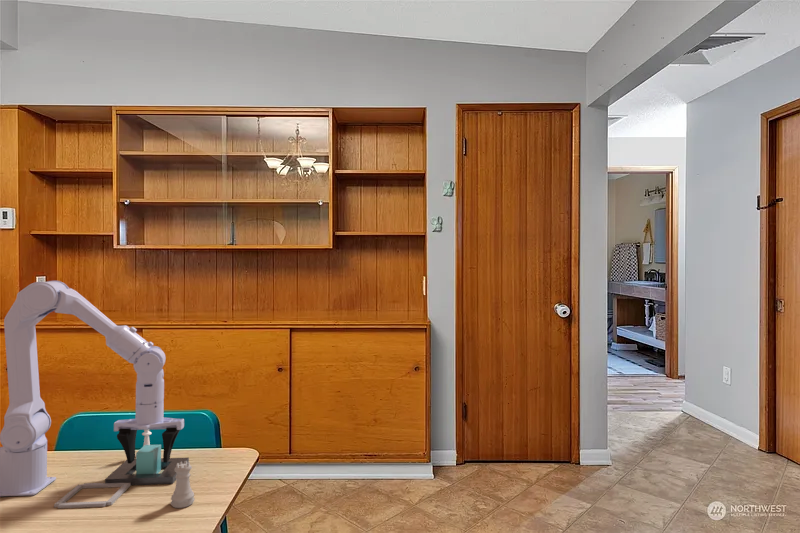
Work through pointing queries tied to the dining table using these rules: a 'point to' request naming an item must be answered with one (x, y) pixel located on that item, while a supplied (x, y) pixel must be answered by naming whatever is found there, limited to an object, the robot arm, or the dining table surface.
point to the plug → (148, 459)
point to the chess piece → (146, 437)
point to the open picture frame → (62, 501)
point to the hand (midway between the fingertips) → (149, 461)
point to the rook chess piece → (182, 486)
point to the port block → (127, 469)
